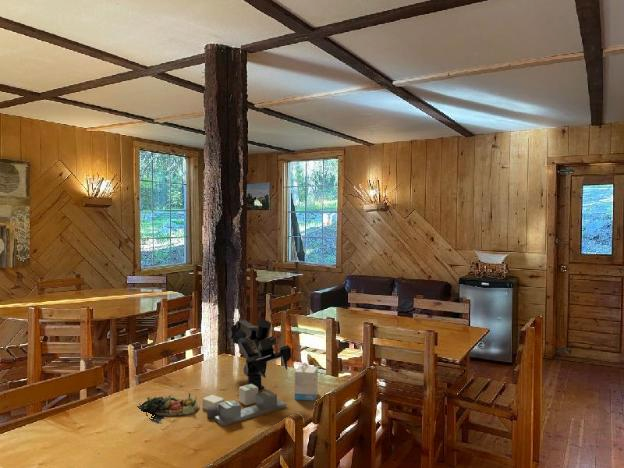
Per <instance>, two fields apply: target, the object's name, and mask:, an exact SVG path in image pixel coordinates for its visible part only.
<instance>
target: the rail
mask: <svg viewBox="0 0 624 468" xmlns="http://www.w3.org/2000/svg"><path fill="white" fill-rule="evenodd" d="M241 407H242V404H241V403H239V402H237V400H236V401H235V400H234V399H231V400H224V402H222V403H219V404H218V416H215V418H214V421H215V422H216V423H217V424H218V425H219V426H220V427H225V426H228V425H231V424H235V423H238V422H242V421H245V420H248V419H252V418H254V417H255V418H256V417H258V416H262V415H265V414H268V413H271V412H275V411H279V410H283V409H285V408H287V402H285V401H283V400H281V399H280V398H278V394H276V393H274V392H273V391H271V390H270V389H269V390H263V391H260V392H258V393H256V402H255V405H254V404H253V405H251V406H250V405H249V406H248V407H244V408H241Z"/></svg>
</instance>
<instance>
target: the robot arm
mask: <svg viewBox="0 0 624 468" xmlns="http://www.w3.org/2000/svg"><path fill="white" fill-rule="evenodd" d="M258 320H259V321H257V325H253V324H252V323H251V322H250V321H249V322H248V320H246V319H243V320H241V319H240V320H237V321H235V323H234V325H232V326H231V327H230V329H229V332H228V338H229V340H230V341H231V342H232V343H233V344H236V345H238V347H239V349H240V351H241V352H242V355H243V356H244V358H245V359H246V360H245V365H244V367H243V374H244V375H245V376H246V377H247V385H249V384H253V385H255V386H257V387H258V390H260V389H264V388H265V386H264V385H263V384H262V378H267V377H266V372H267V371H266V370H267V364H268V363H270V362H273V361H275V360H279V359H281V362H282V364H283V367H284V368H285V370H286V371H287V370H288V362H289V361H290V360H291V358H292V349H291V347H290V345H289V344H286V345H284V346H281V347H279V352H276V353H275V349H274V345H277V339H276V337H275V336H274V335H272V336H270V333H271V329H272V322H270V321H269V320H266V319H264V318H259V319H258ZM250 341H253V342H252V343H253V346H252V345H251V343H250ZM255 350H256V351H257V352H256V351H255Z"/></svg>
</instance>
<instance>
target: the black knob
mask: <svg viewBox="0 0 624 468" xmlns="http://www.w3.org/2000/svg"><path fill="white" fill-rule="evenodd" d="M215 416H218V407H209V408H207V410H206V417H207V419H209V420H210V419H211V420H213V419H214V420H215Z"/></svg>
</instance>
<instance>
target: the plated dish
mask: <svg viewBox="0 0 624 468" xmlns="http://www.w3.org/2000/svg"><path fill="white" fill-rule="evenodd" d="M142 403H143V404H142V405H141V404H139V405H140V406H137V407H138V408H139V409H141V411H143V412H148V413H150V414H152V416H154V415H155V416H154V417H152V416H151V418H153V419H150V418H149V419H150V420H151V421H150V420H149V421H150V422H152V423H155V424H160V425H161V424H162V425H163V420H165V419H167V420H168V418H170V417H173V418H174V417H182V416H188V415H191V414H194V413H195V412H197V411H199V409H200V404H198V402H197V396H195V397H192V396H191V392H189V393H188V397H187V398H183V399H177V398H175V397H174V396H172V395H168V397H167V396H166V397H163V396H162V395H161V396H153V397H150V396H148V397H146V400H145V401H144V402H142ZM156 417H157V418H156Z"/></svg>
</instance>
